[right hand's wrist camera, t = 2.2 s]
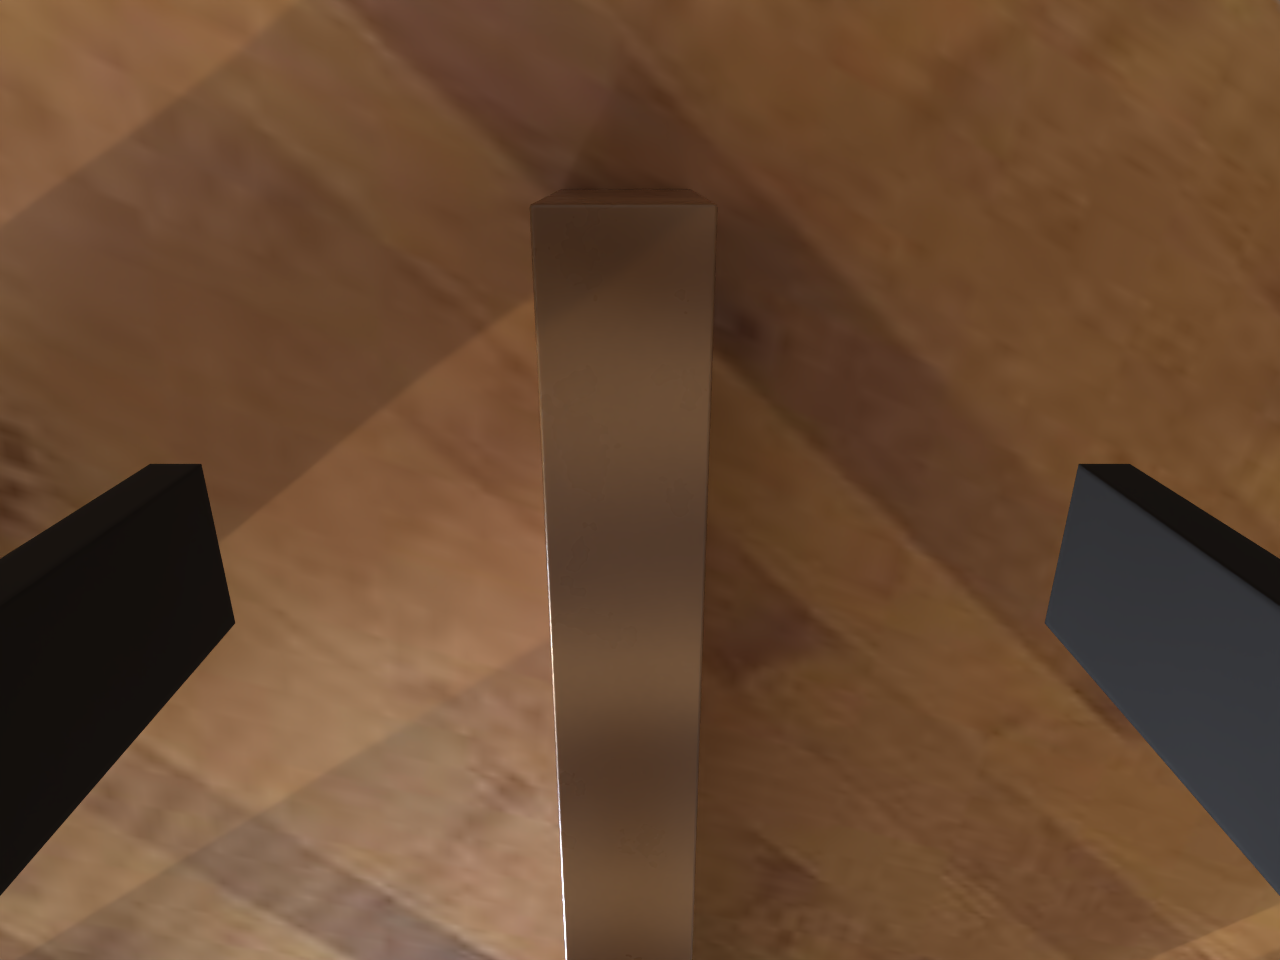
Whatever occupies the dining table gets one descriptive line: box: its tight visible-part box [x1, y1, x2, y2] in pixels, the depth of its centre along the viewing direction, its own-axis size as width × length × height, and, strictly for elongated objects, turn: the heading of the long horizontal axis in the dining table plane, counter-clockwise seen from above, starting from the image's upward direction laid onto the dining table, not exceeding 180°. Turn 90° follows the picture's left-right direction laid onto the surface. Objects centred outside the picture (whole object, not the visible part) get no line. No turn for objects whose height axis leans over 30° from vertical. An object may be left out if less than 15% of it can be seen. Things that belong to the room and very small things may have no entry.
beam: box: [530, 190, 717, 960], centre depth 34 cm, size 54×5×9 cm, turn 0°
